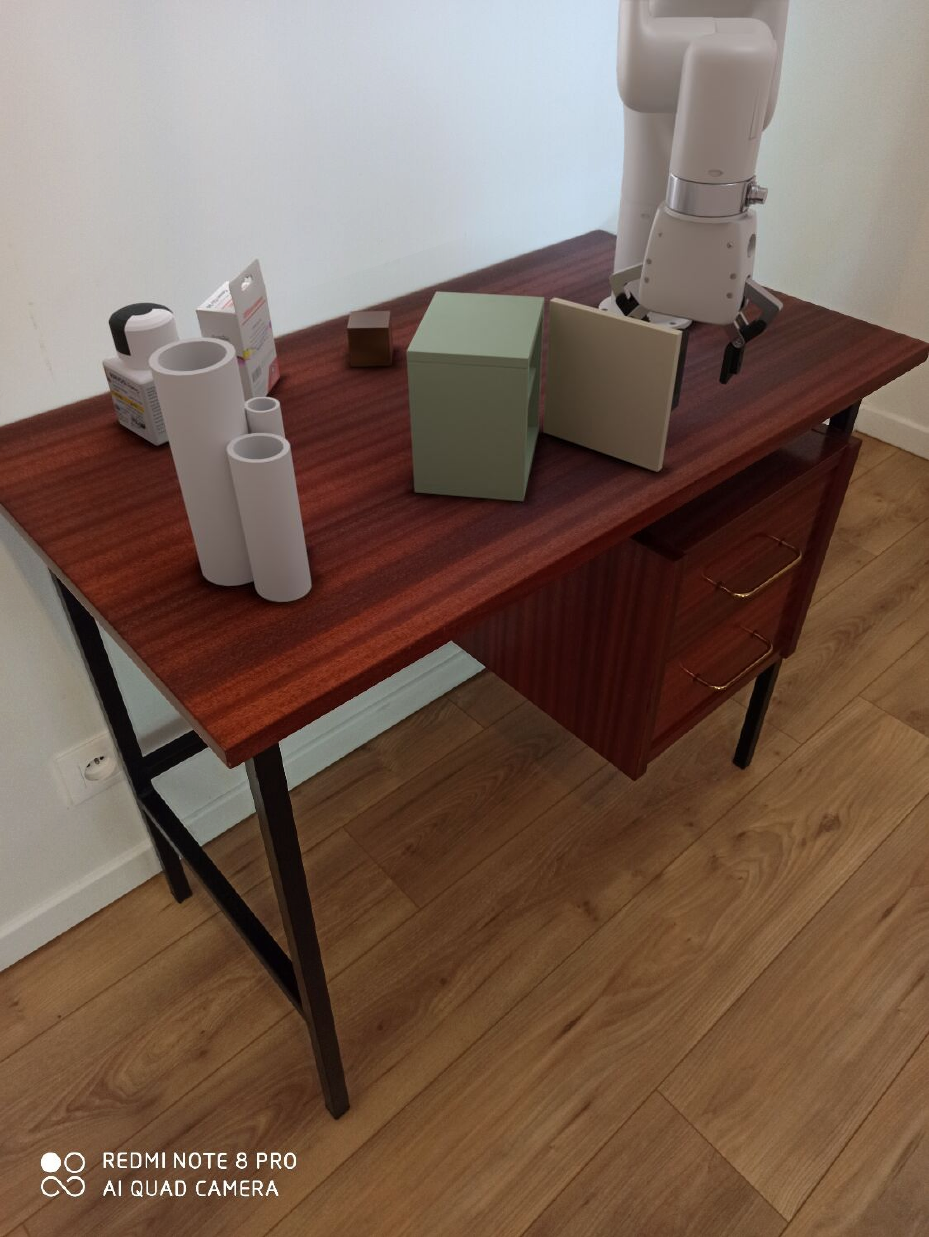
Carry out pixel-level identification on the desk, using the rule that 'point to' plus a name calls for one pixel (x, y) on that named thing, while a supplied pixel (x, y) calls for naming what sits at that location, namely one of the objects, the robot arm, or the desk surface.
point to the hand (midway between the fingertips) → (681, 368)
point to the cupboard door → (612, 381)
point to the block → (370, 338)
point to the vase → (232, 470)
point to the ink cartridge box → (244, 328)
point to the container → (138, 366)
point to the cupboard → (476, 394)
